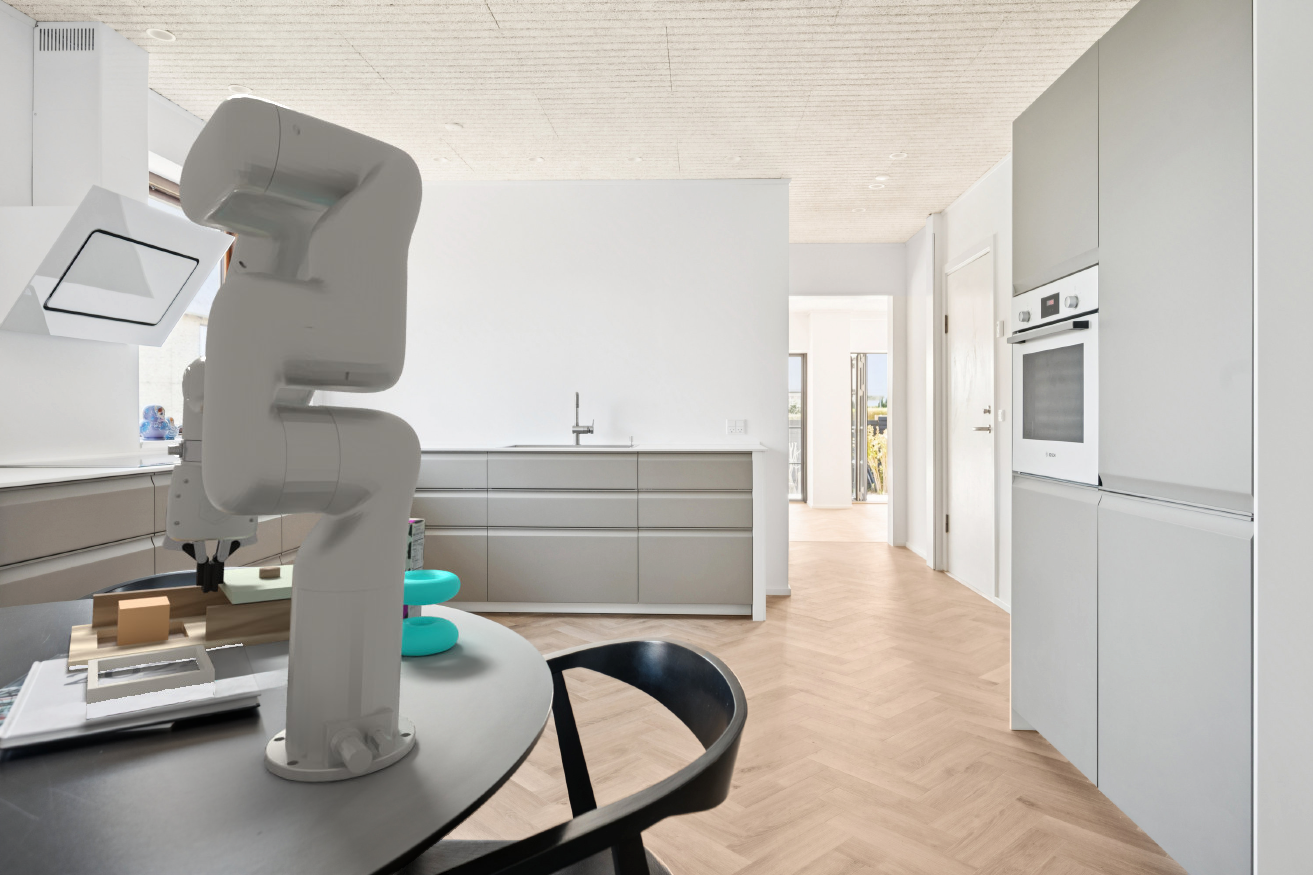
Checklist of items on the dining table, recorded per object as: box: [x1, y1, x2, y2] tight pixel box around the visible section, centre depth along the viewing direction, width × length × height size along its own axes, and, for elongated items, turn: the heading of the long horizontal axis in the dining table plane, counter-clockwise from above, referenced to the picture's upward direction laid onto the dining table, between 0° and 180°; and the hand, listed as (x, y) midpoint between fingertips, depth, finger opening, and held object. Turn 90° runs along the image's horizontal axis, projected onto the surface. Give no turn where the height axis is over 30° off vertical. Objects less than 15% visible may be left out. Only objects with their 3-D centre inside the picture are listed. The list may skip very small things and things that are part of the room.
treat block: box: [117, 596, 170, 646], centre depth 86 cm, size 5×5×5 cm
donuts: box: [401, 569, 462, 657], centre depth 93 cm, size 10×10×10 cm
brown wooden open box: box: [67, 584, 291, 668], centre depth 90 cm, size 17×27×7 cm, turn 130°
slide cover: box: [218, 564, 293, 604], centre depth 95 cm, size 16×11×3 cm
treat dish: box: [86, 645, 216, 705], centre depth 74 cm, size 11×11×3 cm
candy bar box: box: [403, 517, 426, 619], centre depth 103 cm, size 11×5×16 cm, turn 84°
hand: (209, 590), depth 91 cm, fingers closed
